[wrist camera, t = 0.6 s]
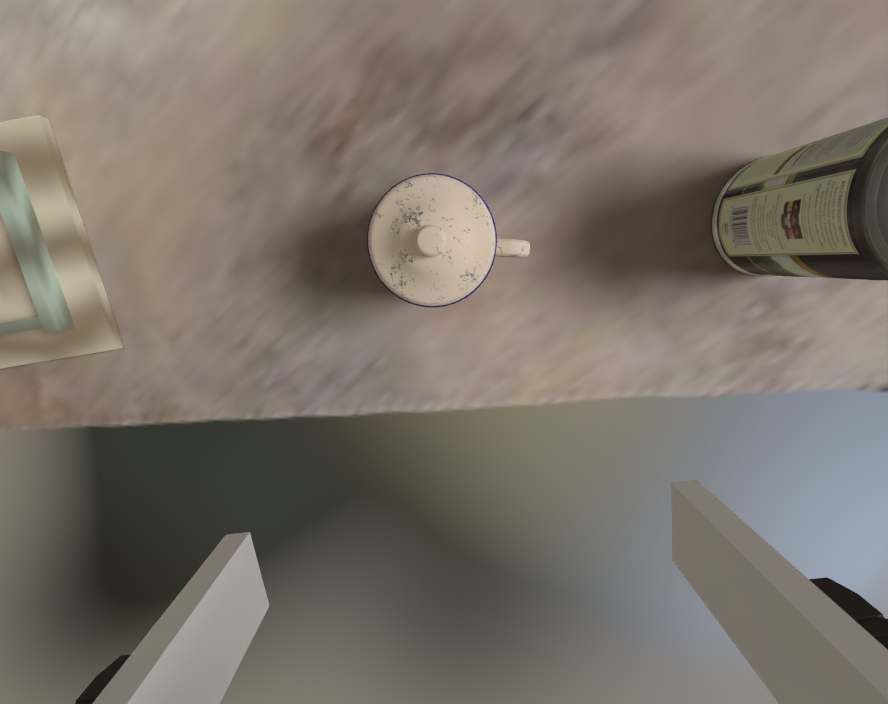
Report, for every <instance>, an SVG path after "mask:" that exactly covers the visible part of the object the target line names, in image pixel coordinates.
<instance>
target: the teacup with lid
mask: <svg viewBox="0 0 888 704" xmlns="http://www.w3.org/2000/svg"><path fill="white" fill-rule="evenodd" d="M367 246H368V253H369V258H370V261H371V264H372V266H373V269H374V271H375V273H376V274H377V276H378V278H379V279H380V281H381V282H382V283H383V284H384V286H385V287H386V288H387V289H388V290H389V291H391V292H392V293H393V294H394V295H396V296H397V297H399V298H400V299H402V300H404V301H406V302H408V303H411V304H414V305H418V306H422V307H442V306H447V305H451V304H454V303H456V302H459V301H461V300H463V299H465V298H466V297H468V296H469V295H470V294H472V293H473V292H474V291H475V290H476V289H477V288H478V287H479V286H480V285H481V284H482V283H483V281H484V280H485V278H486V277H487V275H488V274H489V272H490V270H491V267H492V265H493V262H494V259H495V256H500V257H527V256H528V255H529V253H530V244H529V242H528V241H525V240H517V239H503V238H497V234H496V227H495V223H494V219H493V217H492V214H491V212H490V210H489V208H488V206H487V205H486V203H485V201H484V200H483V199H482V197H481V196H480V195H479V194H478V193H477V192H476V191H475V190H474V189H473V188H472V187H470V186H469V185H467V184H466V183H464V182H462V181H461V180H459V179H456V178H454V177H451V176H448V175H443V174H420V175H416V176H413V177H409V178H407V179H405V180H403V181H401V182H399V183H398V184H396V185H395V186H393V187H392V188H391V189H390V190H389V191H387V193H386V194H385V195H384V196H383V197H382V198H381V200H380V201H379V202H378V204H377V206H376V207H375V209H374V211H373V214H372V216H371V219H370V223H369V227H368V234H367Z"/></svg>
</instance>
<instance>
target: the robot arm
mask: <svg viewBox="0 0 888 704" xmlns="http://www.w3.org/2000/svg"><path fill="white" fill-rule="evenodd" d="M671 502H672V547H673V548H672V549H673V550H672V551H673V562H674V563H675V565H676V566H677V567H678V569H679V570H680V571H681V573H682V574H683V575H684V577H685V578H686V579H687V580H688V582H689V583H690V585H691V586H692V587H693V589H694V590H695V591H696V593H697V594H698V595H699V597H700V598H701V600H702V601H703V602H704V603H705V604H706V606H707V608H708V609H709V610H710V612H711V613H712V614H713V615H714V617H715V618H716V620H717V621H718V622H719V624H720V625H721V626H722V628H723V629H724V630H725V632H726V633H727V634H728V636H729V637H730V638H731V640H732V641H733V642H734V644H735V645H736V646H737V648H738V649H739V651H740V652H741V653H742V655H743V656H744V657H745V658H746V660H747V661H748V663H749V664H750V665H751V667H752V668H753V669H754V670H755V672H756V673H757V675H758V676H759V677H760V679H761V680H762V681H763V683H764V684H765V685H766V687H767V688H768V689H769V691H770V692H771V694H772V695H773V696H774V698H775V699H776V700H777V702H778V703H779V704H888V619H885V618H884V617H883V614H881V613H880V612H879V611H878V610H877V609H875V608H874V607H873V606H872V605H870V604H869V603H868V602H867V601H866V600H864V599H863V598H862V597H861V596H860V595H858V594H857V593H855V592H853V591H851V590H849V589H848V588H846V587H844V586H842V585H840V584H838V583H836V582H835V581H833V580H831V579H829V578H818V579H808V578H806V577H805V576H804V575H803V574H802V573H801V572H800V571H799V570H798V569H796V568H795V567H794V566H793V565H792V564H791V563H790V562H789V561H787V560H786V559H785V558H784V557H783V556H782V555H780V553H778V552H777V551H776V550H775V549H774V548H773V547H772V546H770V545H769V544H768V543H767V542H766V541H765V540H764V539H763V538H762V537H760V536H759V535H758V534H757V533H756V532H755V531H754V530H753V529H751V528H750V527H749V526H748V525H747V524H746V523H745V522H744V521H742V520H741V519H740V518H739V517H738V516H737V515H736V514H735V513H733V512H732V511H731V510H730V509H729V508H728V507H727V506H726V505H724V504H723V503H722V502H721V501H720V500H719V499H718V498H717V497H716V496H714V495H713V494H712V493H711V492H710V491H709V490H708V489H706V488H705V487H704V486H703V485H702V484H701V483H700V482H699V481H698V480H689V481H682V482H672V483H671ZM268 607H269V603H268V599H267V596H266V592H265V588H264V584H263V581H262V577H261V573H260V569H259V565H258V562H257V558H256V554H255V550H254V546H253V543H252V539H251V535H250V532H247V533H238V534H229V535H226V536H225V537H224V538H223V539H222V541H221V542H220V543H219V544H218V546H217V547H216V548H215V550H214V551H213V552H212V553H211V555H210V556H209V557H208V559H207V560H206V561H205V562H204V563H203V565H202V566H201V567H200V568H199V570H198V571H197V572H196V574H195V575H194V576H193V577H192V579H191V580H190V581H189V582H188V584H187V585H186V586H185V587H184V589H183V590H182V591H181V592H180V594H179V595H178V596H177V598H176V599H175V600H174V601H173V602H172V604H171V605H170V606H169V608H168V609H167V610H166V611H165V613H164V614H163V615H162V616H161V618H160V619H159V620H158V621H157V623H156V624H155V625H154V626H153V628H152V629H151V631H149V633H148V634H147V635H146V637H145V638H144V639H143V641H142V642H141V643H140V644H139V645H138V647H137V648H136V649H135V650H134V652H133V653H132V654H131V655H122V656H120V657H119V658H118V659H117V660H115V661H114V662H113V663H112V664H111V665H110V666H108V667H107V668H106V669H105V670H104V671H102V672H101V673H100V674H99V675H98V676H96V677H95V679H94V680H93V681H92V682H91V683H90V685H89V686H88V687H87V688H86V689H85V691H84V692H83V693H82V694H81V695H80V697H79V698H78V699H77V700H76V704H219V703H220V702H221V700H222V698H223V696H224V694H225V692H226V690H227V688H228V686H229V684H230V682H231V680H232V678H233V676H234V674H235V672H236V670H237V668H238V666H239V664H240V662H241V660H242V658H243V656H244V654H245V652H246V650H247V648H248V646H249V644H250V642H251V640H252V639H253V636H254V635H255V633H256V631H257V629H258V627H259V625H260V623H261V621H262V619H263V617H264V615H265V613H266V611H267V609H268Z"/></svg>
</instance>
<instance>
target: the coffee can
mask: <svg viewBox="0 0 888 704" xmlns="http://www.w3.org/2000/svg"><path fill="white" fill-rule="evenodd" d="M712 233H713V238H714V242H715V245H716V247H717V249H718V251H719V253H720V255H721V256H722V258H723V259H724V260H725V261H726V262H727V263H728V264H729V265H731V266H732V267H733V268H735V269H736V270H738V271H741V272H743V273H746V274H749V275H754V276H796V277H823V278H846V279H867V280H888V118H885V119H882V120H879V121H876V122H873V123H870V124H867V125H864V126H861V127H858V128H855V129H852V130H849V131H846V132H843V133H840V134H836V135H833V136H830V137H827V138H824V139H821V140H818V141H815V142H812V143H809V144H806V145H803V146H800V147H797V148H794V149H791V150H788V151H785V152H782V153H779V154H775V155H772V156H767V157H763V158H760V159H757V160H755V161H753V162H751V163H749V164H748V165H746V166H744V167H743V168H741V169H740V170H738V171H737V172H736V173H735V175H734V176H733V177H731V178H730V180H729V181H728V182H727V183H726V185H725V186H724V187H723V189H722V191H721V192H720V194H719V196H718V198H717V201H716V204H715V207H714V210H713V216H712Z"/></svg>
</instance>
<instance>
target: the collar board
mask: <svg viewBox="0 0 888 704" xmlns="http://www.w3.org/2000/svg"><path fill="white" fill-rule="evenodd" d="M123 347H124V346H123V343H122V340H121V337H120V334H119V331H118V328H117V325H116V322H115V319H114V316H113V313H112V310H111V307H110V304H109V301H108V298H107V295H106V292H105V289H104V286H103V283H102V280H101V277H100V274H99V271H98V268H97V265H96V262H95V259H94V256H93V253H92V250H91V247H90V243H89V240H88V237H87V234H86V231H85V228H84V225H83V222H82V219H81V216H80V213H79V210H78V207H77V204H76V201H75V198H74V195H73V192H72V189H71V186H70V183H69V180H68V177H67V174H66V171H65V168H64V165H63V162H62V159H61V156H60V153H59V150H58V147H57V144H56V141H55V138H54V135H53V132H52V129H51V126H50V123H49V120H48V119H47V118H44V117H41V116H38V115H35V116H30V117H25V118H19V119H14V120H9V121H4V122H0V369H1V368H7V367H13V366H19V365H25V364H31V363H37V362H43V361H49V360H55V359H61V358H67V357H73V356H79V355H85V354H91V353H97V352H103V351H109V350H115V349H119V348H123Z"/></svg>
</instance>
